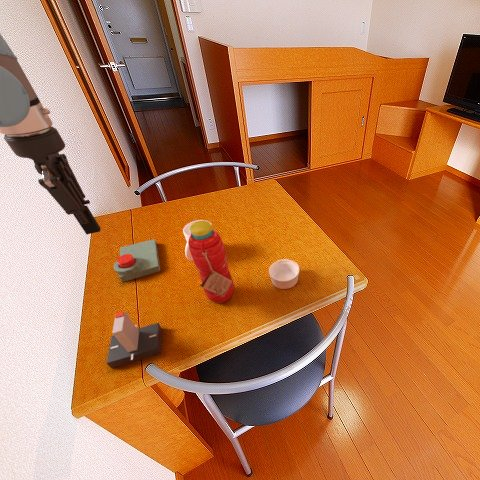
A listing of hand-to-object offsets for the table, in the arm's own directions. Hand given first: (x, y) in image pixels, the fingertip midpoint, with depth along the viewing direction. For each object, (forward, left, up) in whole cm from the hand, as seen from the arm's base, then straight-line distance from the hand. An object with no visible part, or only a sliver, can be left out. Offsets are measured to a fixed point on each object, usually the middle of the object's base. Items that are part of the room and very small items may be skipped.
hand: (93, 231), depth 65 cm
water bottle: (+6, -27, -21) cm, 34 cm away
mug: (+18, -11, -21) cm, 29 cm away
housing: (+9, +5, -20) cm, 23 cm away
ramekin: (+19, -40, -21) cm, 49 cm away
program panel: (-13, -17, -20) cm, 30 cm away
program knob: (-13, -17, -18) cm, 28 cm away
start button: (+5, +4, -17) cm, 18 cm away
